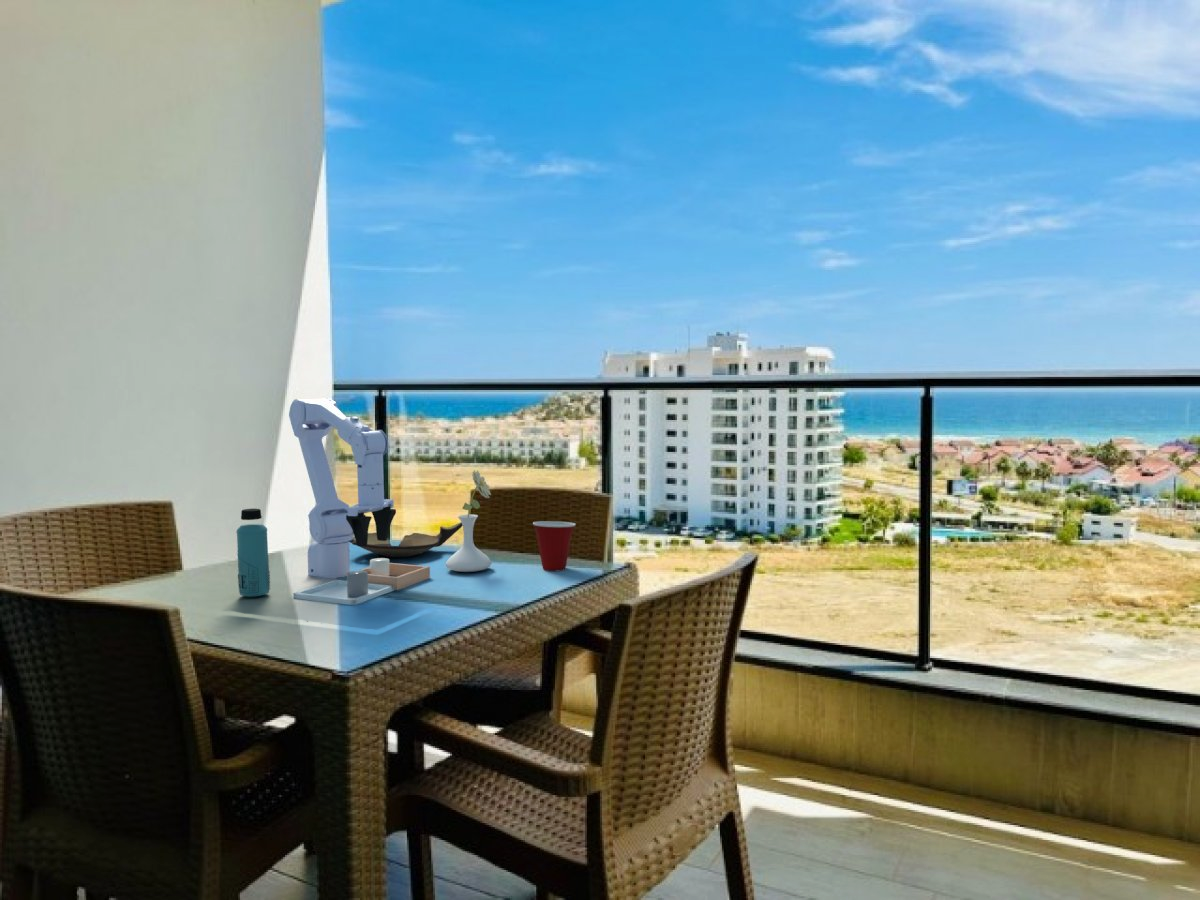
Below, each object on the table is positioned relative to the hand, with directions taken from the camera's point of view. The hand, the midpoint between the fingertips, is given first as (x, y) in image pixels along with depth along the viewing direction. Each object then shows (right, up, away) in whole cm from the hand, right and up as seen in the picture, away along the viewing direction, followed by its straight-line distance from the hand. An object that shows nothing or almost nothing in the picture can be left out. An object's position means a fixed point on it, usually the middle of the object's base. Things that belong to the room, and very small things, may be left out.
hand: (372, 543), depth 203 cm
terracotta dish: (+3, -10, +5) cm, 12 cm away
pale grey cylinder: (0, -10, +6) cm, 11 cm away
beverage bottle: (-23, -12, -9) cm, 28 cm away
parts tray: (-4, -11, -7) cm, 14 cm away
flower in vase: (+19, -9, +21) cm, 30 cm away
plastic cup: (+40, -9, +22) cm, 47 cm away
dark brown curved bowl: (-1, -8, +40) cm, 41 cm away
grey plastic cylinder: (-1, -10, -9) cm, 14 cm away
